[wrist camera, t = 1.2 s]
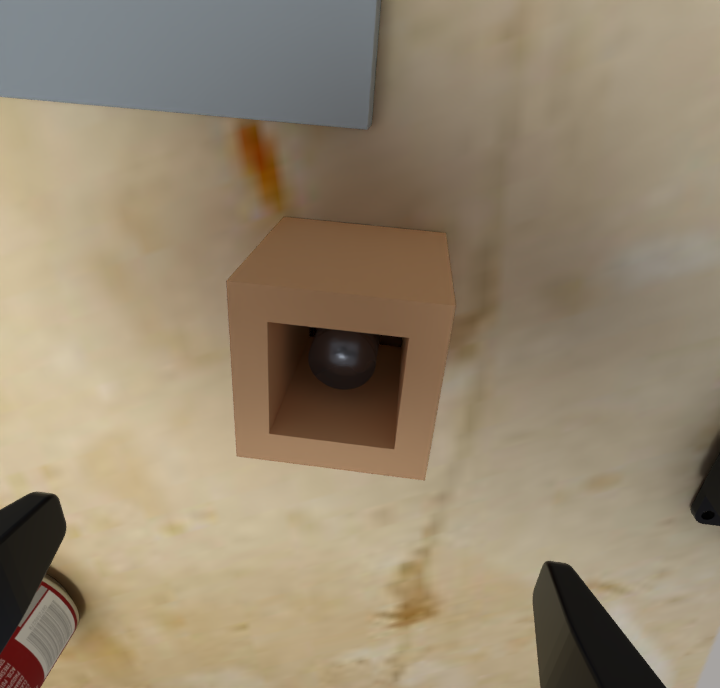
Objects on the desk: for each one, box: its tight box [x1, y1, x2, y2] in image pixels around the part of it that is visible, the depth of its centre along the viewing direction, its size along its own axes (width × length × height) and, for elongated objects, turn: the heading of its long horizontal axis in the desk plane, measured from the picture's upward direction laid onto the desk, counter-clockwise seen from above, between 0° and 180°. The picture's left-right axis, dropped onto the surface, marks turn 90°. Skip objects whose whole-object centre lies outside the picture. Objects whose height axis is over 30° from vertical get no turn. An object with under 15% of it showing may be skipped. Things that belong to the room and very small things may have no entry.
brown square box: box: [226, 217, 456, 480], centre depth 16 cm, size 6×6×6 cm
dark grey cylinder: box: [308, 328, 380, 390], centre depth 17 cm, size 2×2×4 cm
